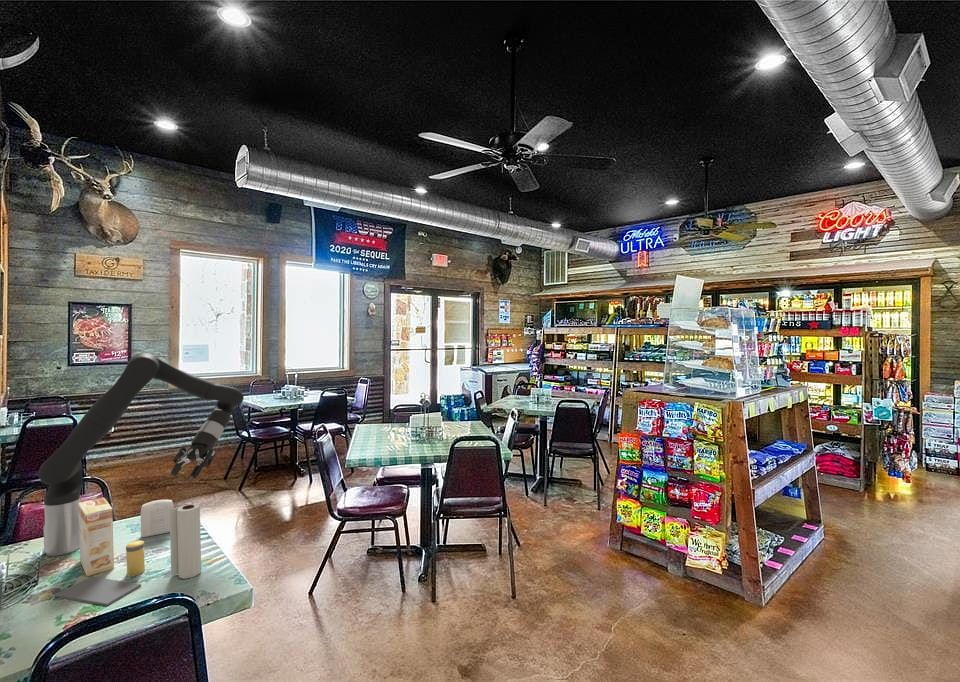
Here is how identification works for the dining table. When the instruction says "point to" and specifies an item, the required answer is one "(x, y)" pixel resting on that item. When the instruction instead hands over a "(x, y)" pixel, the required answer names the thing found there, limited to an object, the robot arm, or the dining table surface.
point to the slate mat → (98, 590)
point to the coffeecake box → (96, 536)
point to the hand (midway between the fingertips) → (182, 476)
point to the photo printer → (156, 517)
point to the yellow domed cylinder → (135, 558)
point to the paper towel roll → (185, 540)
